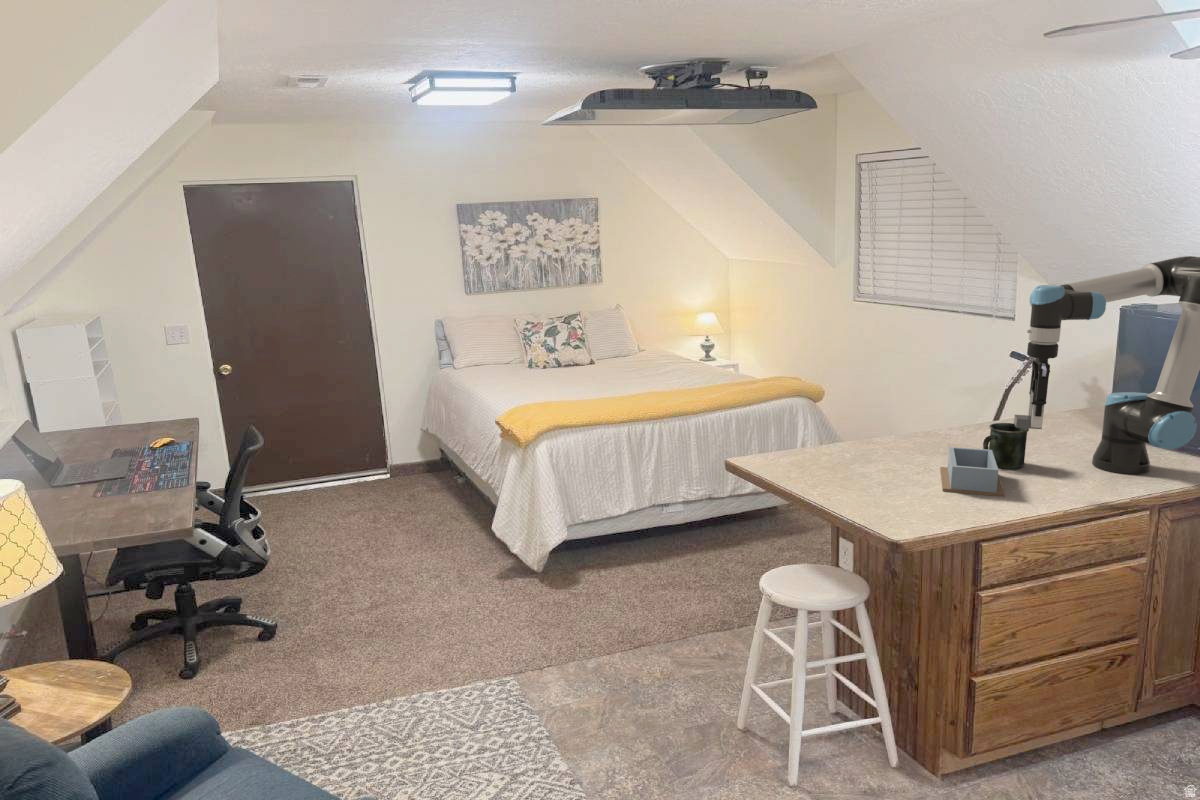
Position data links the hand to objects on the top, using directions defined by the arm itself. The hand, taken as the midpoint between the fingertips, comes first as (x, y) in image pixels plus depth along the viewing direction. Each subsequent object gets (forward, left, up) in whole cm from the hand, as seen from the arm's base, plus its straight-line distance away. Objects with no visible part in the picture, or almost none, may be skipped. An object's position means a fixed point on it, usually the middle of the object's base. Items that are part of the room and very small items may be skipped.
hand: (1034, 424), depth 249 cm
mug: (+5, -22, -19) cm, 30 cm away
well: (+15, -2, -19) cm, 24 cm away
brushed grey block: (+2, 0, -1) cm, 2 cm away
